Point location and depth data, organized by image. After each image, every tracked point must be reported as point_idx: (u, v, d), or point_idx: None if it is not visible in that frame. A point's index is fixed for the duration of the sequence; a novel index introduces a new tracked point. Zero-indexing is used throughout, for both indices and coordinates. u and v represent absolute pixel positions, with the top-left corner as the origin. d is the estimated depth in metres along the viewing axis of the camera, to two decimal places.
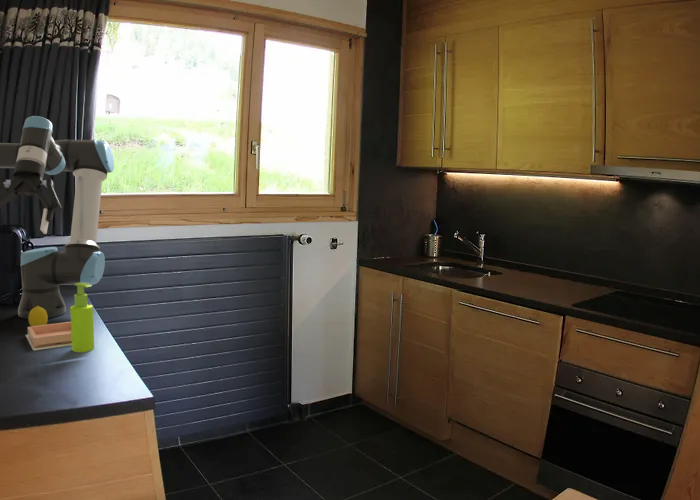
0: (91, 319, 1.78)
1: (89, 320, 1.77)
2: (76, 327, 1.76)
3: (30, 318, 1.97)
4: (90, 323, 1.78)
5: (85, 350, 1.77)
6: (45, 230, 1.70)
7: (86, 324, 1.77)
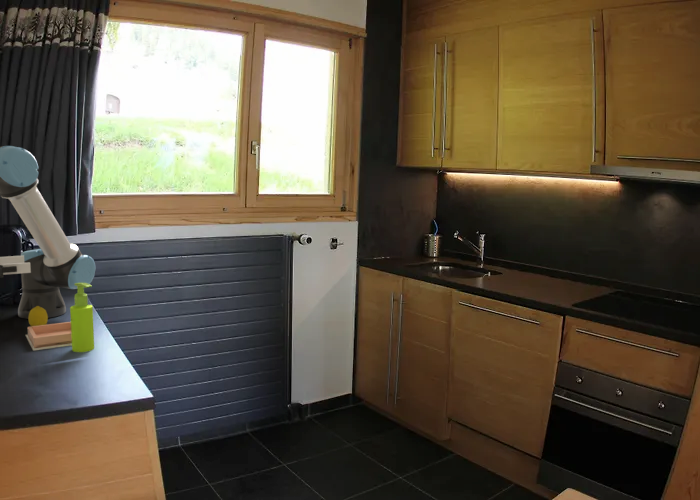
0: (91, 319, 1.78)
1: (89, 320, 1.77)
2: (76, 327, 1.76)
3: (30, 318, 1.97)
4: (90, 323, 1.78)
5: (85, 350, 1.77)
6: (28, 266, 1.68)
7: (86, 324, 1.77)
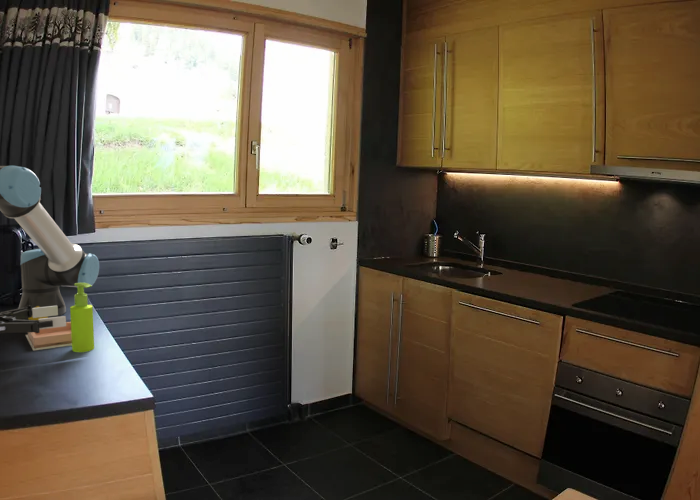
0: (91, 319, 1.78)
1: (89, 320, 1.77)
2: (76, 327, 1.76)
3: (30, 318, 1.97)
4: (90, 323, 1.78)
5: (85, 350, 1.77)
6: (63, 320, 1.68)
7: (86, 324, 1.77)
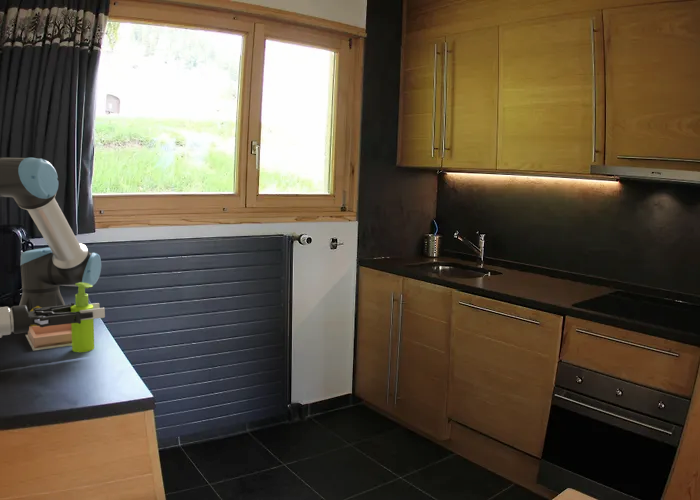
0: (91, 319, 1.78)
1: (90, 320, 1.77)
2: (77, 327, 1.76)
3: None
4: (90, 323, 1.77)
5: (85, 350, 1.77)
6: (102, 312, 1.77)
7: (87, 324, 1.76)
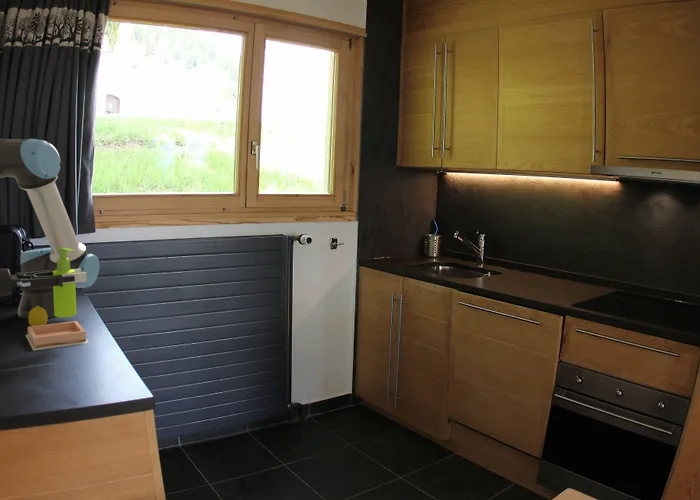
0: (73, 283, 1.82)
1: (72, 284, 1.81)
2: (59, 291, 1.79)
3: (30, 318, 1.97)
4: (72, 288, 1.81)
5: (67, 314, 1.81)
6: (84, 276, 1.81)
7: (69, 288, 1.80)
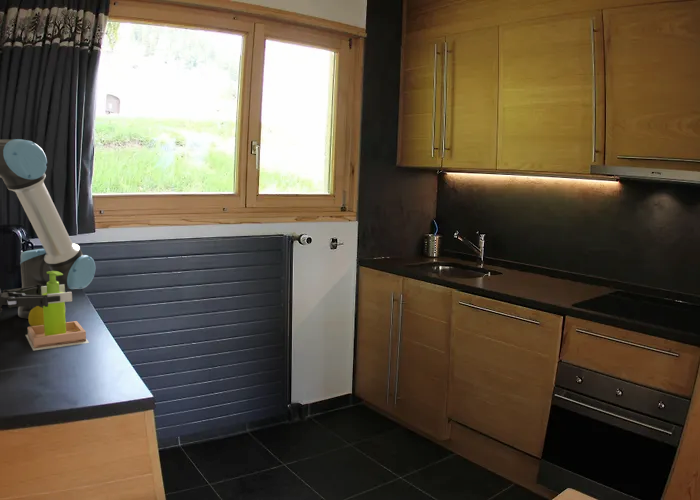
0: (63, 306, 1.87)
1: (61, 307, 1.86)
2: (48, 313, 1.85)
3: (30, 318, 1.97)
4: (61, 310, 1.86)
5: None
6: (70, 295, 1.83)
7: (58, 310, 1.86)
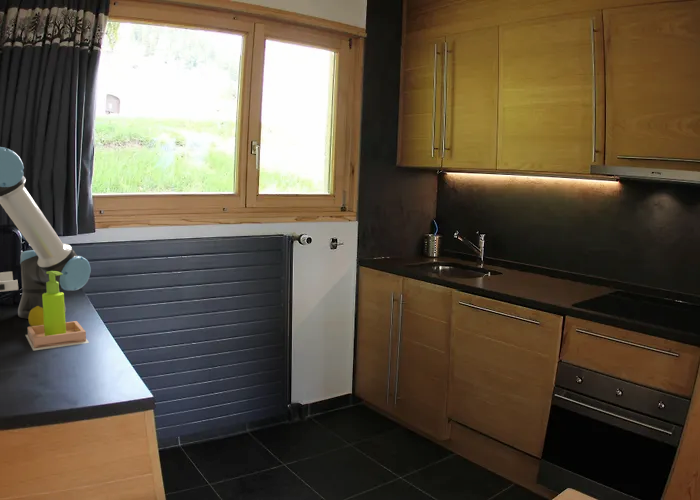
0: (62, 306, 1.87)
1: (61, 307, 1.86)
2: (48, 313, 1.85)
3: (30, 318, 1.97)
4: (61, 310, 1.87)
5: None
6: (15, 284, 1.74)
7: (58, 310, 1.86)
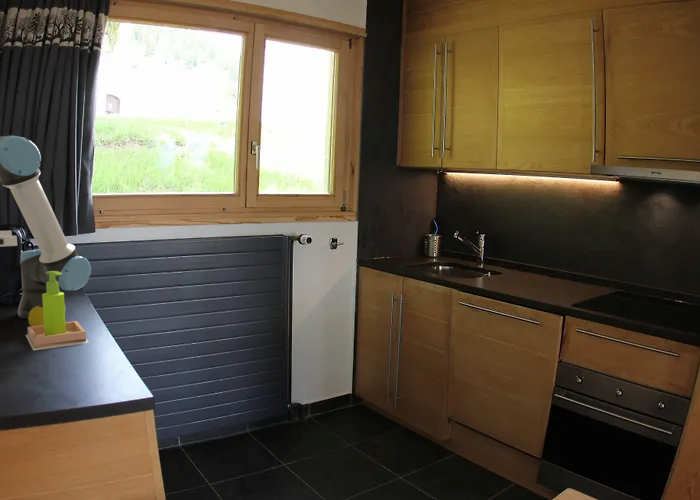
0: (62, 306, 1.87)
1: (61, 307, 1.86)
2: (48, 313, 1.85)
3: (30, 318, 1.97)
4: (61, 310, 1.87)
5: None
6: (14, 239, 1.73)
7: (58, 310, 1.86)
